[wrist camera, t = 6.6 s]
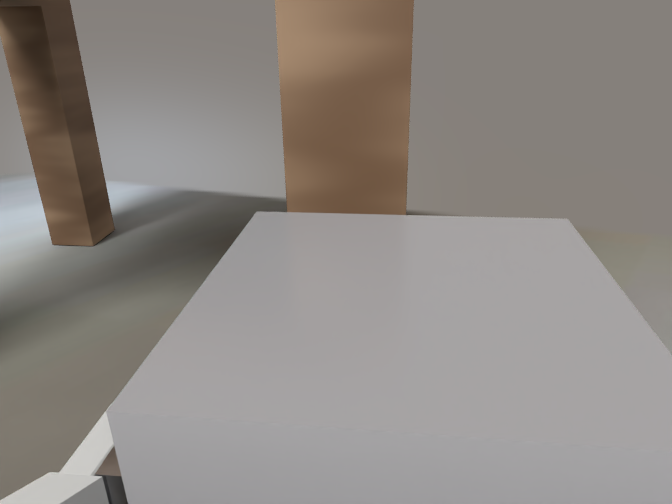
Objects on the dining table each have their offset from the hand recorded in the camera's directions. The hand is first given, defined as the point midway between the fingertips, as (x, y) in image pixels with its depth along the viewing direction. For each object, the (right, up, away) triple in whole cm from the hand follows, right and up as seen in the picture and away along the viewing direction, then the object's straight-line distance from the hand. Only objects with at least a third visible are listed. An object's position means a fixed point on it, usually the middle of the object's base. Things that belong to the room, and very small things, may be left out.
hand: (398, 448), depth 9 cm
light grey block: (0, -5, +1) cm, 6 cm away
